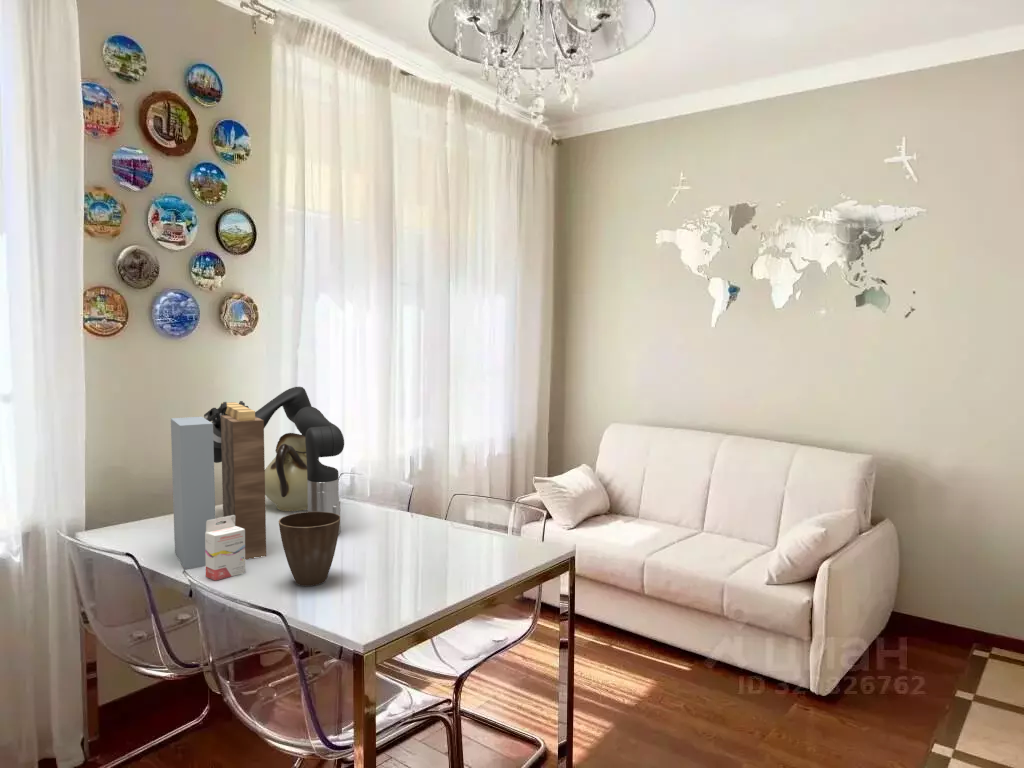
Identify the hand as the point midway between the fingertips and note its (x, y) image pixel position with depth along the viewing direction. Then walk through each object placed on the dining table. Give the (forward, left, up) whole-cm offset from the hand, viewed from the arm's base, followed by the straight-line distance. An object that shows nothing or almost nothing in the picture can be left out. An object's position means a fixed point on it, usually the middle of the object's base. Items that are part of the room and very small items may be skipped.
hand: (233, 404), depth 212 cm
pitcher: (-8, -40, -41) cm, 58 cm away
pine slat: (-2, +4, -3) cm, 5 cm away
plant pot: (-29, +33, -41) cm, 60 cm away
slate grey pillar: (+7, +15, -41) cm, 44 cm away
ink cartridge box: (-6, +28, -41) cm, 50 cm away
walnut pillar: (-5, +8, -41) cm, 42 cm away
